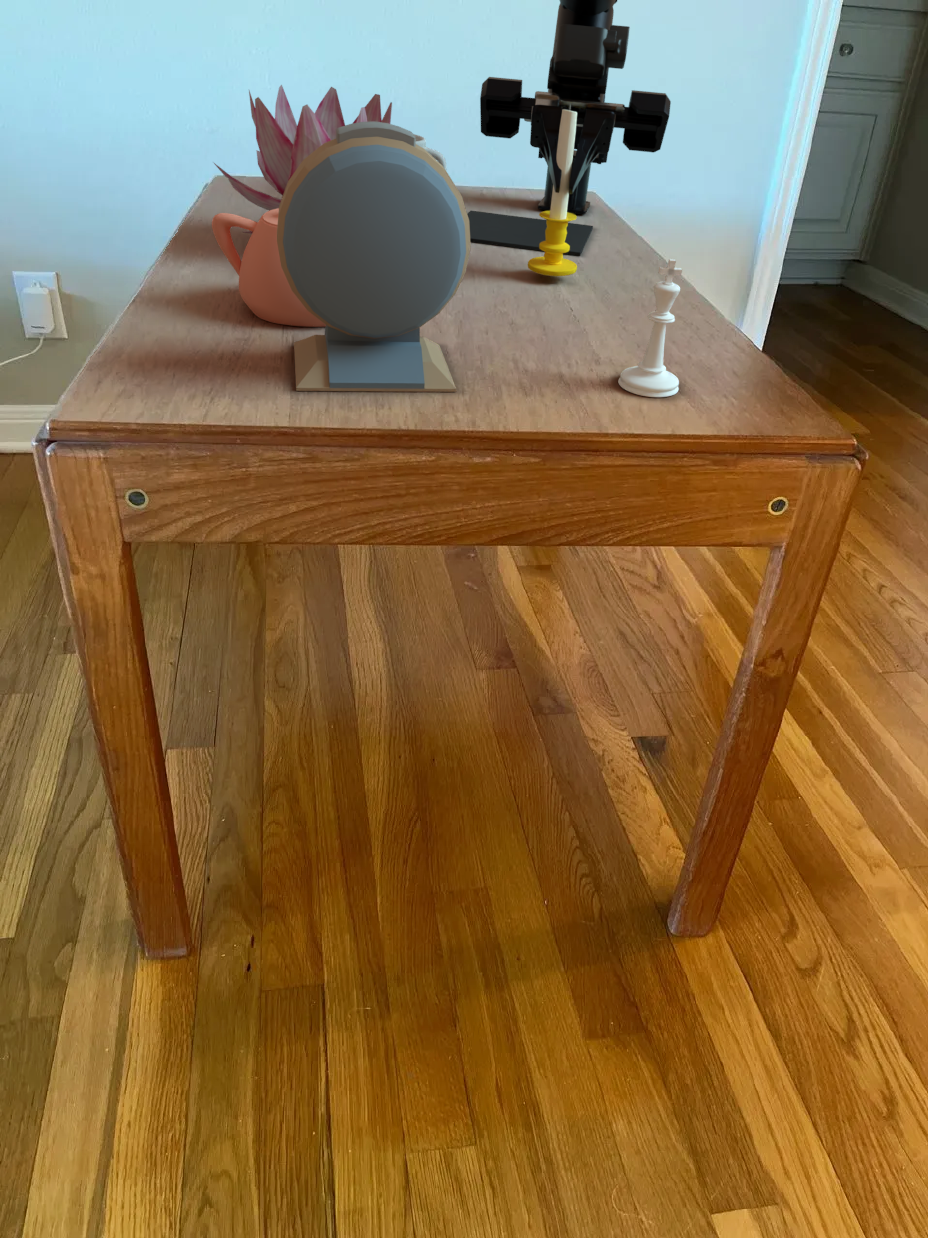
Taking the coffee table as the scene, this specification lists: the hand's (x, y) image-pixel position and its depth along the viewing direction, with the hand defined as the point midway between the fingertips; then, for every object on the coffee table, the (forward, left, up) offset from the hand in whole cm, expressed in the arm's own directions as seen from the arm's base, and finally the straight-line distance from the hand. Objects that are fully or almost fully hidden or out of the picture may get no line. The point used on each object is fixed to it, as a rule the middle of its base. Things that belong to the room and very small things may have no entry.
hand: (564, 190), depth 95 cm
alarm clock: (+31, -10, -9) cm, 34 cm away
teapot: (+19, -19, -9) cm, 29 cm away
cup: (-26, -23, -9) cm, 36 cm away
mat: (-19, -6, -9) cm, 22 cm away
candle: (-2, 0, -8) cm, 8 cm away
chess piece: (+26, +12, -9) cm, 30 cm away
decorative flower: (0, -25, -9) cm, 27 cm away
